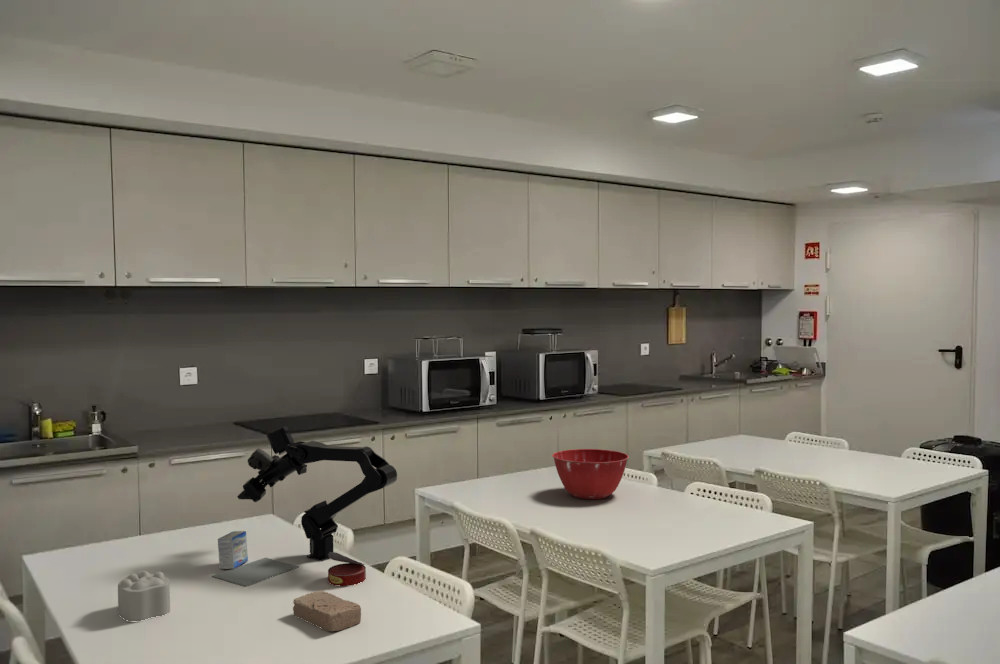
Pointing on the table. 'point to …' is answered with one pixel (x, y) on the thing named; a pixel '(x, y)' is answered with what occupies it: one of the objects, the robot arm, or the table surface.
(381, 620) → the table surface
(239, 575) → the mat
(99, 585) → the table surface
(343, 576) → the canned food
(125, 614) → the lumpy-topped squat cylinder
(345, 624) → the brick
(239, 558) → the medicine box
